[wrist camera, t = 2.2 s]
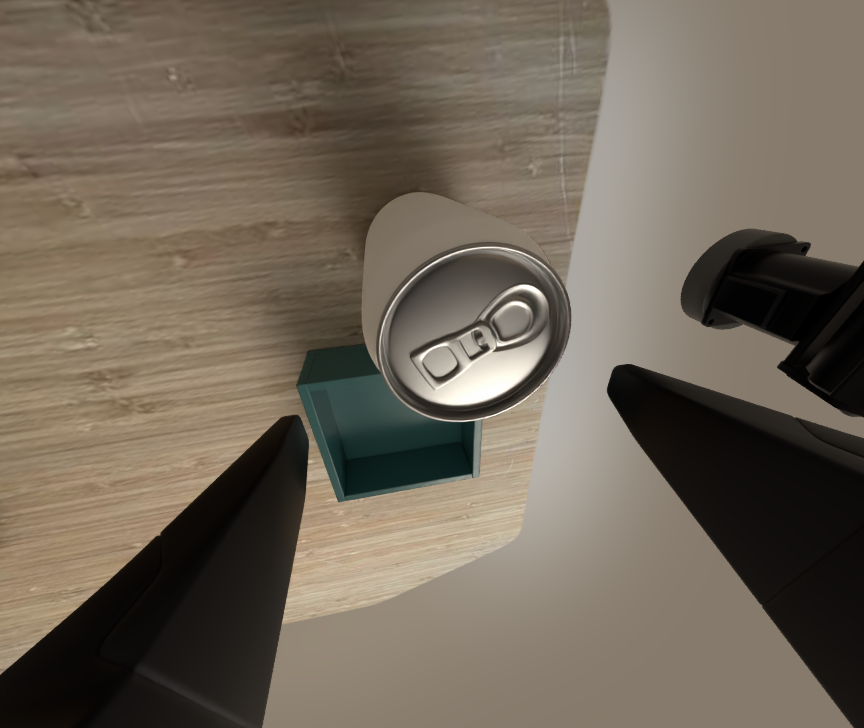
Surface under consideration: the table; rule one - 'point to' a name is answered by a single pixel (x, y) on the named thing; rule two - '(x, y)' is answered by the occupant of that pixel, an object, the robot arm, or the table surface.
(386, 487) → the teal shallow tray
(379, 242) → the can
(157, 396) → the table surface
